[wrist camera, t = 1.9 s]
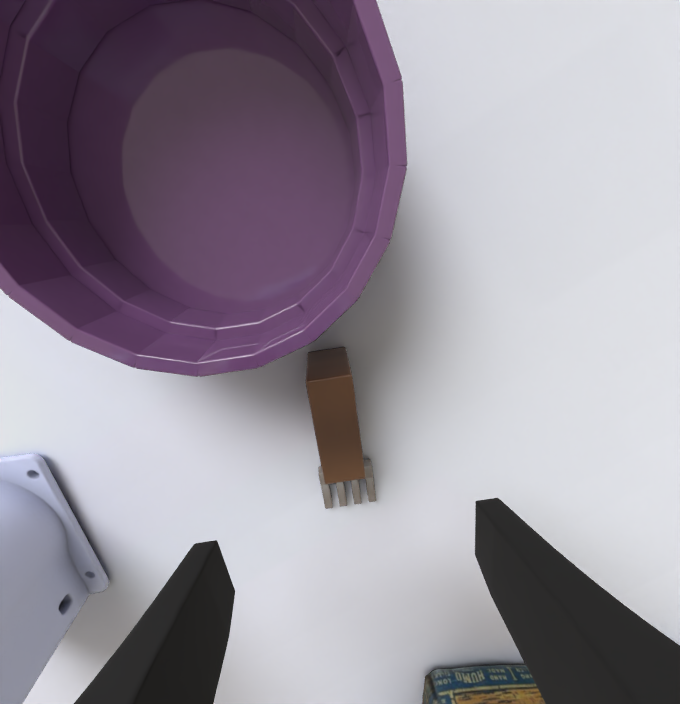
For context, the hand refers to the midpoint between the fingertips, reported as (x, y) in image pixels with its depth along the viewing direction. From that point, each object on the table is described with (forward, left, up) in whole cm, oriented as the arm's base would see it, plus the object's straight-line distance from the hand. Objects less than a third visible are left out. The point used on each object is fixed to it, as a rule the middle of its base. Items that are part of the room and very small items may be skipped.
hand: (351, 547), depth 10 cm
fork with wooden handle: (-2, 0, -8) cm, 8 cm away
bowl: (+10, +3, -8) cm, 14 cm away
